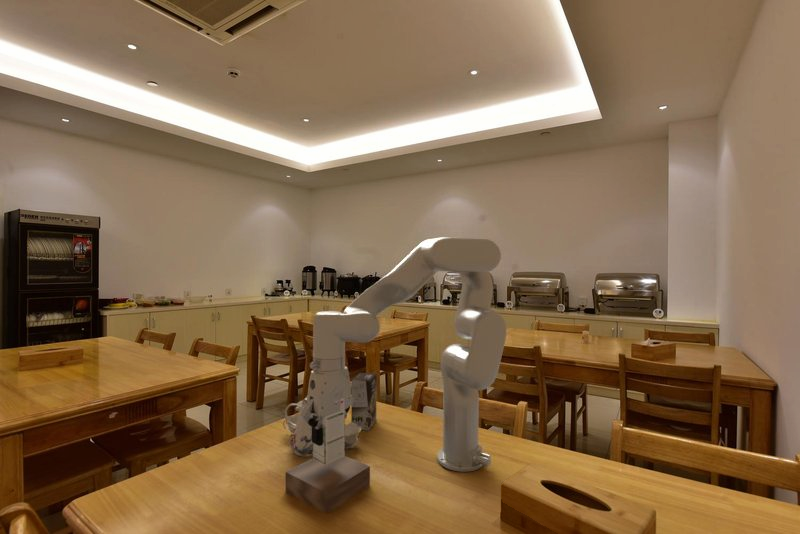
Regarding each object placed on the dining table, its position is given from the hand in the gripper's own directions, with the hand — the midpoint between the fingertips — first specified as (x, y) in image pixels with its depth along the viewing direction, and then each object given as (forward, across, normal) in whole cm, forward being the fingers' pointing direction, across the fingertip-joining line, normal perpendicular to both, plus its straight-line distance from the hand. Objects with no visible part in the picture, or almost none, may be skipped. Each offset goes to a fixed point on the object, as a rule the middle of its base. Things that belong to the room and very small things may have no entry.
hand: (328, 438), depth 95 cm
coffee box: (+12, +32, +20) cm, 40 cm away
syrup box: (+5, 0, 0) cm, 5 cm away
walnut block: (+12, 0, 0) cm, 12 cm away
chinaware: (+12, +12, +20) cm, 27 cm away
